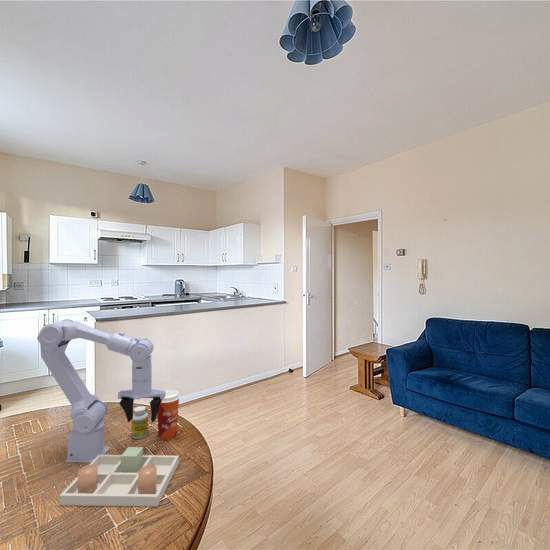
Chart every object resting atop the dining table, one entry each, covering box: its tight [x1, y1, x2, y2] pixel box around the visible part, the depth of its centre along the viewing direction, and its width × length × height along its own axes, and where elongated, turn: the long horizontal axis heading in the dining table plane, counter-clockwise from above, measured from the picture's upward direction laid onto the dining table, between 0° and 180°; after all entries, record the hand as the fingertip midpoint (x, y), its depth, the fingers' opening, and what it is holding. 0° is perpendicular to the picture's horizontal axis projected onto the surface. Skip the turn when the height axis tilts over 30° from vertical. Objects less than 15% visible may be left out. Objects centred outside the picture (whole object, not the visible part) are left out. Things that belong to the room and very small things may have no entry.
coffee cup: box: [156, 389, 181, 441], centre depth 106 cm, size 8×8×15 cm
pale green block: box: [120, 446, 144, 473], centre depth 86 cm, size 4×4×6 cm
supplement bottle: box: [131, 405, 149, 440], centre depth 107 cm, size 5×5×10 cm
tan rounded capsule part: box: [138, 465, 157, 494], centre depth 78 cm, size 4×4×6 cm
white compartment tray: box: [58, 454, 180, 508], centre depth 82 cm, size 24×16×3 cm
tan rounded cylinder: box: [77, 464, 98, 494], centre depth 78 cm, size 4×4×6 cm
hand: (142, 420), depth 96 cm, fingers open, 7 cm apart
